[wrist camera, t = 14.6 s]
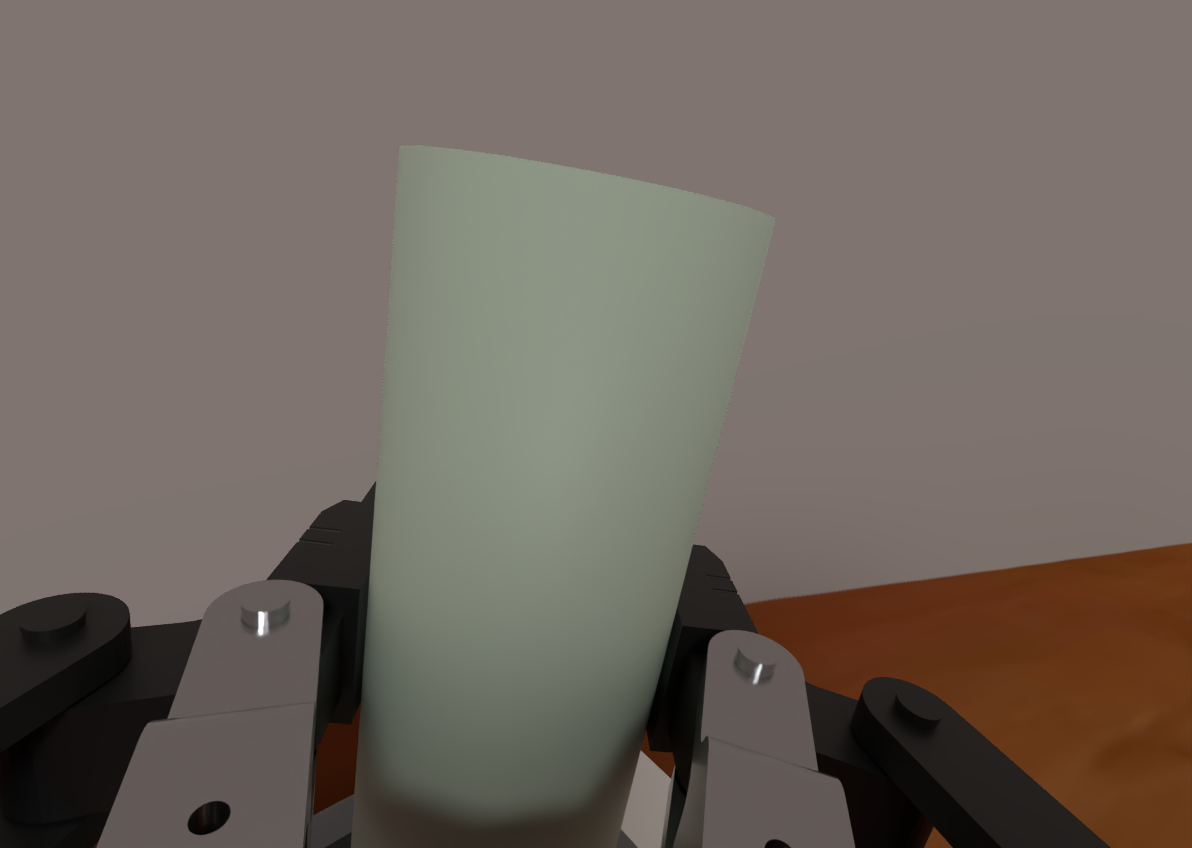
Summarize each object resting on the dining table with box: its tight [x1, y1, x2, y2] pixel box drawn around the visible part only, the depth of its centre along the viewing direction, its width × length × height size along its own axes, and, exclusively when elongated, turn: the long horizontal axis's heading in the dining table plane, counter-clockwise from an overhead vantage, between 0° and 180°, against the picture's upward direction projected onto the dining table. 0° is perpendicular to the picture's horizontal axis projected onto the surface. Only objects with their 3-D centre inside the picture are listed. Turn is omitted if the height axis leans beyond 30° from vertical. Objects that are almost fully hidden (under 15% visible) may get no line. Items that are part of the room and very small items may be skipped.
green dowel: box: [351, 145, 775, 848], centre depth 10 cm, size 4×4×16 cm
